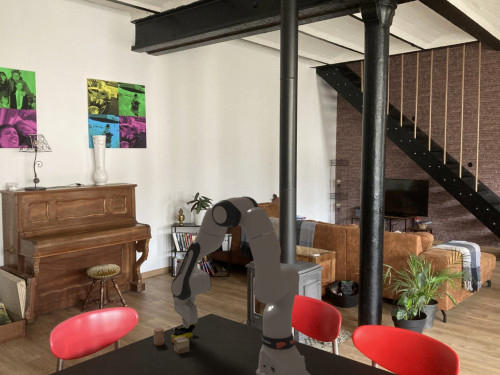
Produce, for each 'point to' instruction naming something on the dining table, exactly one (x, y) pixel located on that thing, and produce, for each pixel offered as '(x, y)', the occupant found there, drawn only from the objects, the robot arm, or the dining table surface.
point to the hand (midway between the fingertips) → (186, 327)
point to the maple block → (181, 344)
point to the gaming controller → (183, 332)
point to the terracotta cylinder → (159, 336)
